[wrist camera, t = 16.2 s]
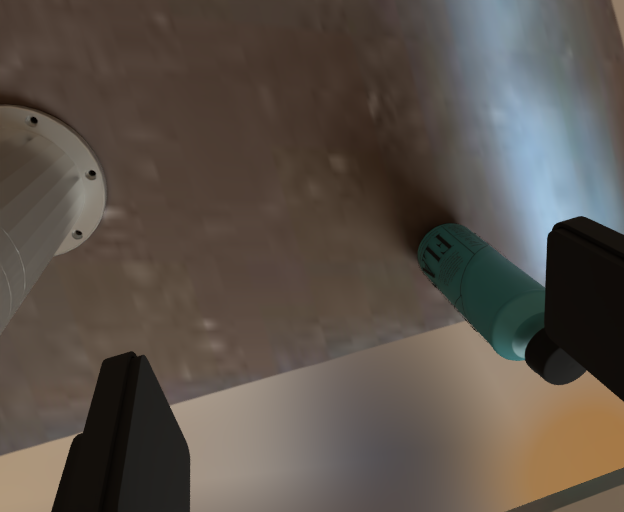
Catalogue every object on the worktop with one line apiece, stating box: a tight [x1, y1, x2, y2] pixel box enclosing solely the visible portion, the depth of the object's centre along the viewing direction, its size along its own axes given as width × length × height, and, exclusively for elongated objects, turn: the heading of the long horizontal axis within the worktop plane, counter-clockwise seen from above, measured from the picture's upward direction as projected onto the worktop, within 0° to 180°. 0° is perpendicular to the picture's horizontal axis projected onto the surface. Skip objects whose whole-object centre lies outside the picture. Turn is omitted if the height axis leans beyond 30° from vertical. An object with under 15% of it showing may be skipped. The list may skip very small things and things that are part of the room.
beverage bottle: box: [418, 223, 586, 385], centre depth 40 cm, size 6×7×20 cm
